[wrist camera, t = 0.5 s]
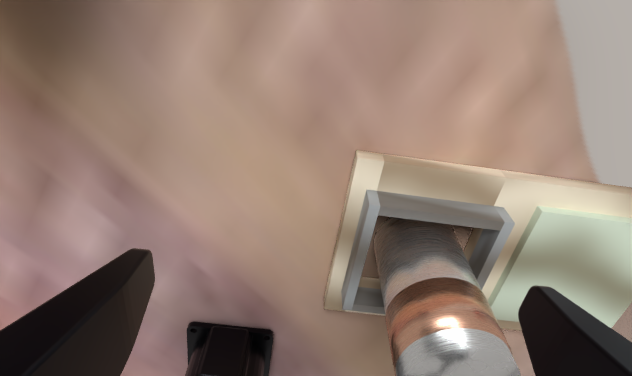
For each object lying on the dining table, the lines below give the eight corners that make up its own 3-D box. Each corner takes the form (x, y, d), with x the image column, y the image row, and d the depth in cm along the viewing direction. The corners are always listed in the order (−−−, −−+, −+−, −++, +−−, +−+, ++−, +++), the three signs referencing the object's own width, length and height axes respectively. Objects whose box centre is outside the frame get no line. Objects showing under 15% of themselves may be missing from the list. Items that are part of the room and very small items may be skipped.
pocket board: (584, 327, 30) (605, 357, 28) (323, 298, 28) (324, 327, 26) (683, 194, 24) (720, 220, 21) (356, 150, 22) (360, 171, 20)
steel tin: (439, 276, 27) (494, 424, 19) (365, 267, 27) (385, 414, 18) (465, 214, 25) (543, 354, 16) (382, 203, 24) (416, 341, 16)
